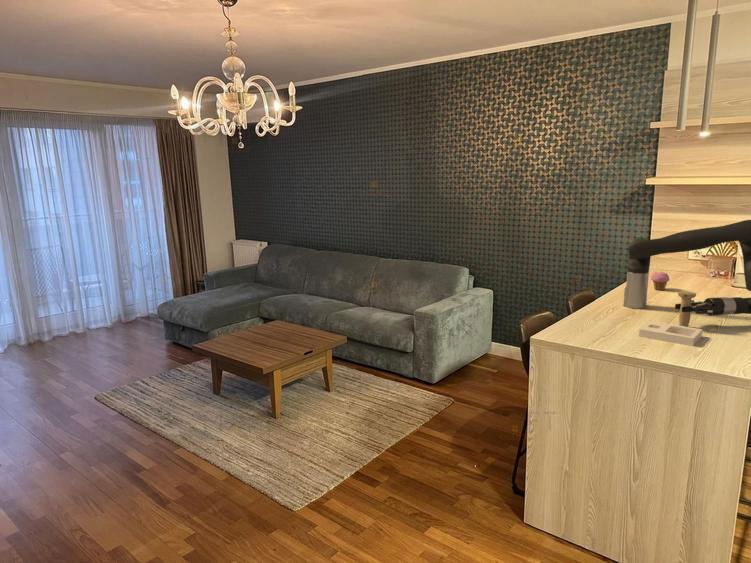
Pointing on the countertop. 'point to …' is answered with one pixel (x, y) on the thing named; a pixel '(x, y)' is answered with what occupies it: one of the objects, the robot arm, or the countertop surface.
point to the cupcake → (660, 280)
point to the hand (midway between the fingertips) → (679, 308)
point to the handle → (686, 301)
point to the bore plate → (671, 333)
